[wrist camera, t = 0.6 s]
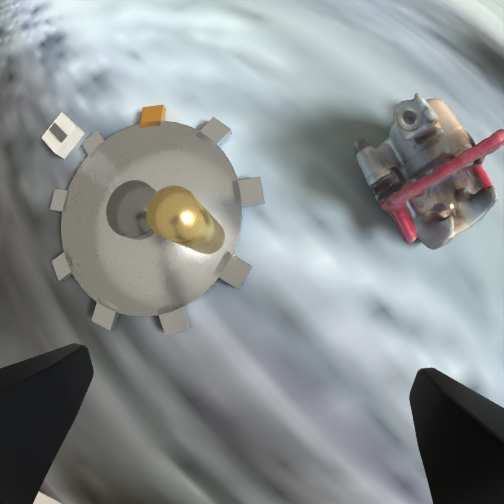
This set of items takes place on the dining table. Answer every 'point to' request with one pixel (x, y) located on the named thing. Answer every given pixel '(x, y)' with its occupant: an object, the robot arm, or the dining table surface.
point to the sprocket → (153, 219)
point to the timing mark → (62, 135)
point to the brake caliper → (429, 172)
